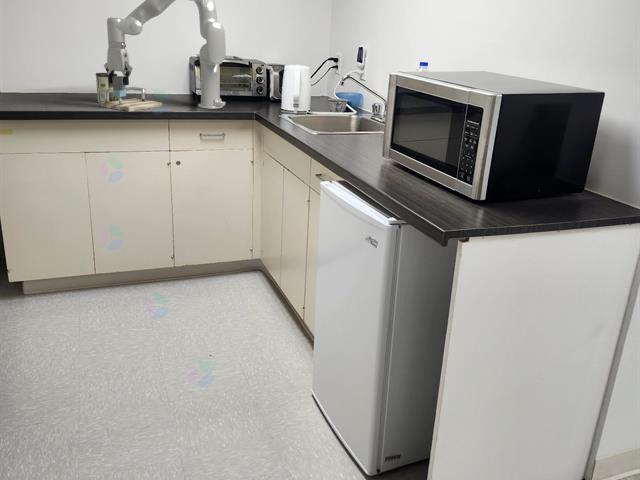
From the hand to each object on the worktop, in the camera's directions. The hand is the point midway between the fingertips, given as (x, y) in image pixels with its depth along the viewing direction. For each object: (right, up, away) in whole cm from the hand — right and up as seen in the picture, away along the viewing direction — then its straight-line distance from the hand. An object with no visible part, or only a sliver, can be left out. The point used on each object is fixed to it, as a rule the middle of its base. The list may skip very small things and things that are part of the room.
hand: (119, 84), depth 280 cm
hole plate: (+3, -8, +11) cm, 14 cm away
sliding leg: (-1, -8, +3) cm, 9 cm away
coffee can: (-12, -4, +20) cm, 24 cm away
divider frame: (0, -6, +11) cm, 12 cm away
